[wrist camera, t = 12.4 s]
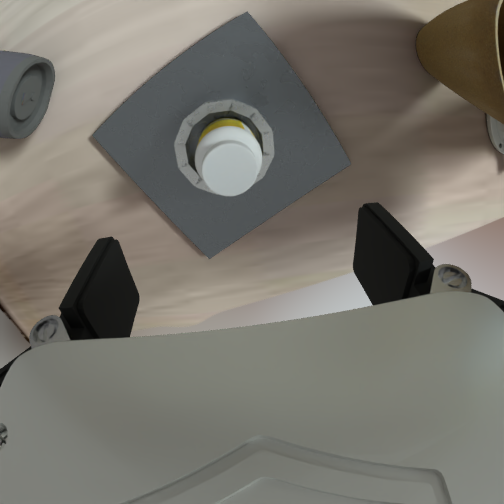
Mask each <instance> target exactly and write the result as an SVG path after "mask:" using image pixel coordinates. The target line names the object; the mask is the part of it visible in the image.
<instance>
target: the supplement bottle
mask: <svg viewBox="0 0 504 504" xmlns="http://www.w3.org/2000/svg"><path fill="white" fill-rule="evenodd" d="M195 166H196V169H197V172H198V174H199V176H200V177H201V178H202V180H203V181H204V182H205V184H206V185H207V186H208V188H209V189H211V190H212V191H213V192H215V193H217V194H219V195H222V196H236V195H239V194H242V193H244V192H245V191H247V190H248V189H249V188H250V187H251V186H252V185H253V184H254V182H255V180H256V177H257V175H258V173H259V171H260V169H261V166H262V151H261V148H260V145H259V143H258V141H257V140H256V138H255V136H254V135H253V133H252V131H251V130H250V128H249V127H248V126H247V125H246V124H245V123H244V122H243V121H241V120H239V119H237V118H234V117H221V118H217V119H215V120H213V121H211V122H210V123H209V124H208V125H207V126H206V127H205V128H204V130H203V131H202V133H201V135H200V139H199V142H198V145H197V148H196V152H195Z"/></svg>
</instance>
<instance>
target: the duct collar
mask: <svg viewBox="0 0 504 504" xmlns="http://www.w3.org/2000/svg"><path fill="white" fill-rule="evenodd" d="M221 117H234V118H237V119H239V120H241V121H243V122H244V123H245V124H246V125H247V126H248V127H249V128H250V130H251V131H252V133H253V135H254V136H255V138H256V140H257V141H258V143H259V145H260V148H261V151H262V166H261V169H260V171H259V173H258V175H257V177H256V180H255V182H254V184H253V185H252V186H251V187H250V188H249V189H248V190H247V191H245V192H244V193H242V194H239V195H236V196H222V195H219V194H217V193H215V192H213V191H212V190H211V189H209V188H208V186H207V185H206V184H205V182H204V181H203V180H202V178H201V177H200V176H199V174H198V172H197V169H196V166H195V152H196V148H197V145H198V142H199V139H200V135H201V133H202V131H203V130H204V128H205V127H206V126H207V125H208V124H209V123H210V122H211V121H213V120H215V119H217V118H221ZM92 136H93V137H94V138H95V139H96V140H97V141H98V142H99V144H100V145H101V146H102V147H103V148H104V149H105V150H106V151H107V152H108V154H109V155H110V156H111V157H112V158H113V159H114V160H115V161H116V162H117V163H118V164H119V166H120V167H121V168H122V169H123V170H124V171H125V172H126V173H127V174H128V175H129V176H130V177H131V178H132V180H133V181H134V182H135V183H136V184H137V185H138V186H139V187H140V188H141V189H142V190H143V191H144V192H145V193H146V194H147V196H148V197H149V198H150V199H151V200H152V201H153V202H154V203H155V204H156V205H157V206H158V207H159V208H160V209H161V210H162V211H163V212H164V213H165V214H166V215H167V216H168V218H169V219H170V220H171V221H172V222H173V223H174V224H175V225H176V226H177V227H178V228H179V229H180V230H181V231H182V232H183V233H184V234H185V235H186V236H187V237H188V238H189V239H190V240H191V241H192V242H193V243H194V244H195V245H196V246H197V247H198V248H199V249H200V250H201V251H202V252H203V253H204V254H205V255H206V256H207V257H208V258H209V259H210V258H212V257H213V256H215V255H216V254H218V253H219V252H220V251H222V250H223V249H225V248H226V247H228V246H229V245H231V244H232V243H234V242H235V241H237V240H238V239H239V238H241V237H242V236H244V235H245V234H247V233H248V232H250V231H251V230H253V229H254V228H256V227H257V226H259V225H260V224H262V223H263V222H265V221H266V220H268V219H269V218H270V217H272V216H273V215H275V214H276V213H278V212H279V211H281V210H282V209H284V208H285V207H287V206H288V205H290V204H291V203H293V202H294V201H296V200H297V199H299V198H300V197H302V196H303V195H305V194H306V193H308V192H309V191H311V190H312V189H314V188H316V187H317V186H319V185H320V184H322V183H323V182H325V181H326V180H328V179H329V178H331V177H332V176H334V175H335V174H337V173H338V172H340V171H341V170H343V169H344V168H346V167H348V166H349V165H351V163H350V161H349V159H348V157H347V155H346V153H345V152H344V150H343V148H342V146H341V145H340V143H339V141H338V139H337V138H336V136H335V134H334V132H333V131H332V129H331V127H330V126H329V124H328V122H327V121H326V119H325V117H324V116H323V114H322V113H321V111H320V109H319V108H318V106H317V105H316V103H315V102H314V100H313V99H312V97H311V95H310V94H309V92H308V91H307V89H306V88H305V86H304V85H303V84H302V82H301V81H300V79H299V78H298V76H297V75H296V73H295V72H294V71H293V69H292V68H291V66H290V65H289V64H288V62H287V61H286V60H285V58H284V57H283V55H282V54H281V53H280V51H279V50H278V49H277V47H276V46H275V45H274V44H273V42H272V41H271V40H270V38H269V37H268V36H267V35H266V33H265V32H264V31H263V30H262V28H261V27H260V26H259V25H258V24H257V22H256V21H255V20H254V19H253V18H252V16H251V15H250V14H249V13H248V12H245V13H244V14H242V15H240V16H238V17H237V18H235V19H233V20H232V21H230V22H228V23H227V24H225V25H224V26H222V27H220V28H219V29H217V30H216V31H214V32H213V33H211V34H210V35H208V36H207V37H205V38H204V39H202V40H201V41H199V42H198V43H196V44H195V45H194V46H192V47H191V48H189V49H188V50H187V51H185V52H184V53H183V54H181V55H180V56H179V57H177V58H176V59H175V60H173V61H172V62H171V63H170V64H168V65H167V66H166V67H165V68H163V69H162V70H161V71H160V72H158V73H157V74H156V75H155V76H154V77H152V78H151V79H150V80H149V81H148V82H147V83H145V84H144V85H143V86H142V87H141V88H140V89H139V90H137V91H136V92H135V93H134V94H133V95H132V96H131V97H130V98H129V99H128V100H127V101H126V102H125V103H123V104H122V105H121V106H120V107H119V108H118V109H117V110H116V111H115V112H114V113H113V114H112V115H111V116H110V117H109V118H108V119H107V120H106V121H105V122H104V123H103V124H102V126H101V127H100V128H99V129H98V130H97V131H96V132H95V133H94V134H93V135H92Z"/></svg>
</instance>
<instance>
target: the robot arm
mask: <svg viewBox="0 0 504 504" xmlns="http://www.w3.org/2000/svg"><path fill="white" fill-rule="evenodd" d="M487 127H488V132H489V136H490V139H491V141H492V144H493V145H494V147H495V148H496V149H497V150H498V151H499V152H500V153H502V154H504V124H502V123H501V122H499V121H497V120H496V119H494V118H493V117H491V116H490V115H488V114H487ZM433 260H434V259H433V258H432V257H431V256H430V255H429V253H427V251H426V250H425V249H424V248H423V247H422V246H421V245H420V244H419V243H418V242H417V241H416V239H415V238H414V237H413V236H412V235H411V234H410V233H409V232H408V231H407V230H406V229H405V228H404V227H403V226H402V225H401V224H400V223H399V222H398V221H397V220H396V219H395V218H394V217H393V216H392V215H391V214H390V213H389V212H388V211H387V210H386V209H385V208H383V207H382V206H381V205H380V204H379V203H378V202H377V203H366V204H364V205H363V207H362V208H360V209H359V212H358V224H357V234H356V244H355V253H354V261H353V270H354V273H355V275H356V276H357V278H358V280H359V282H360V283H361V285H362V287H363V288H364V290H365V292H366V294H367V296H368V297H369V299H370V301H371V303H372V305H373V306H368V307H364V308H358V309H353V310H347V311H342V312H337V313H332V314H325V315H319V316H313V317H307V318H301V319H294V320H288V321H281V322H274V323H268V324H260V325H253V326H245V327H237V328H229V329H220V330H211V331H202V332H191V333H180V334H168V335H156V336H142V337H130V334H131V330H132V326H133V322H134V318H135V315H136V311H137V307H138V304H139V293H138V290H137V288H136V286H135V283H134V281H133V278H132V276H131V273H130V271H129V268H128V265H127V263H126V260H125V257H124V255H123V252H122V249H121V247H120V244H119V241H118V240H114V238H113V237H107V238H101V239H98V240H97V242H96V243H95V245H94V247H93V248H92V250H91V251H90V253H89V255H88V256H87V258H86V260H85V261H84V263H83V265H82V266H81V268H80V270H79V272H78V273H77V275H76V277H75V279H74V280H73V282H72V284H71V286H70V288H69V289H68V291H67V293H66V295H65V297H64V299H63V301H62V303H61V305H60V307H59V310H60V311H61V315H60V317H58V316H56V315H51V316H47V317H45V318H43V319H41V320H40V321H39V322H37V323H36V325H35V326H34V327H33V328H32V330H31V332H30V336H29V337H30V344H31V347H29V348H28V349H27V350H25V351H24V352H23V353H21V354H20V355H19V356H17V357H16V358H15V359H13V360H12V361H11V362H9V363H8V364H7V365H5V366H4V367H3V368H1V369H0V504H504V301H503V300H500V299H497V298H495V297H492V296H490V295H487V294H484V293H482V292H479V291H476V290H474V289H471V279H470V277H469V275H468V274H467V273H466V272H465V271H464V270H462V269H461V268H459V267H457V266H454V265H450V264H442V265H439V266H437V267H436V268H435V267H434V265H433Z"/></svg>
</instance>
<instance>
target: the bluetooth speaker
mask: <svg viewBox="0 0 504 504" xmlns="http://www.w3.org/2000/svg"><path fill="white" fill-rule="evenodd" d="M54 81H55V71H54V67H53V64H52V63H51V61H49V60H48V59H45V58H42V57H39V56H35V55H31V54H25V53H18V52H9V51H0V137H1V138H13V139H20V138H25V137H27V136H29V135H30V134H31V133H32V132H33V131H34V130H35V129H36V128H37V126H38V125H39V124H40V122H41V120H42V119H43V117H44V115H45V113H46V111H47V108H48V104H49V100H50V96H51V93H52V89H53V85H54Z"/></svg>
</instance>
